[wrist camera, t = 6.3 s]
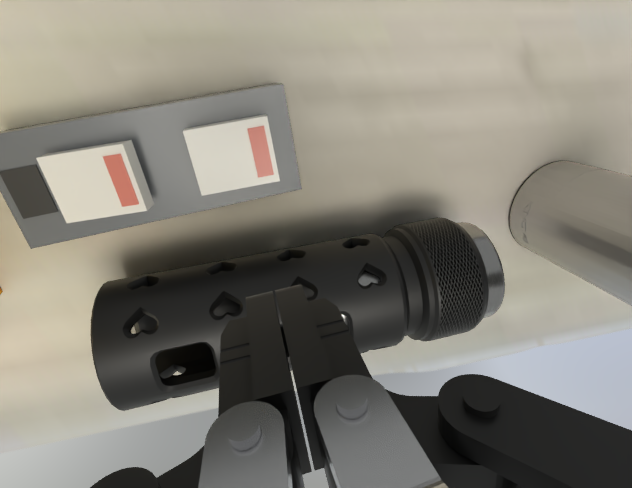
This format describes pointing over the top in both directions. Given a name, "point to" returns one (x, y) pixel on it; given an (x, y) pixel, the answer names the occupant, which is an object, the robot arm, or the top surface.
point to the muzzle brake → (269, 275)
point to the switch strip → (140, 160)
